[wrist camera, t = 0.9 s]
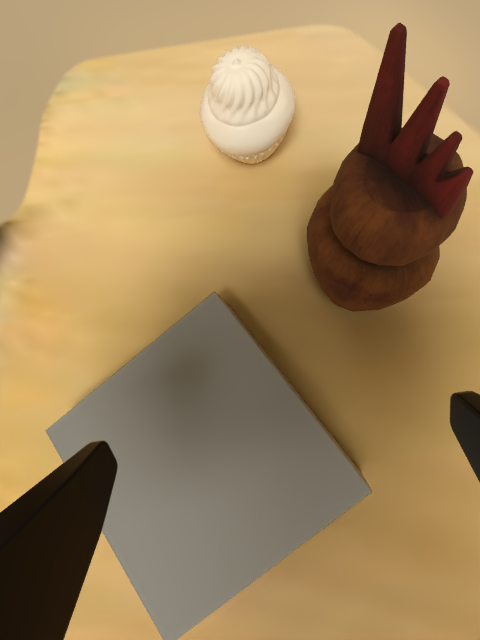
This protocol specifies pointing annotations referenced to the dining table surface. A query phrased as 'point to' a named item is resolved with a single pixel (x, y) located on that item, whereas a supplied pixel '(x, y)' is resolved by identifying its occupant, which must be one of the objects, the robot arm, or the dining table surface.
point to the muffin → (247, 105)
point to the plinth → (208, 466)
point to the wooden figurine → (389, 197)
